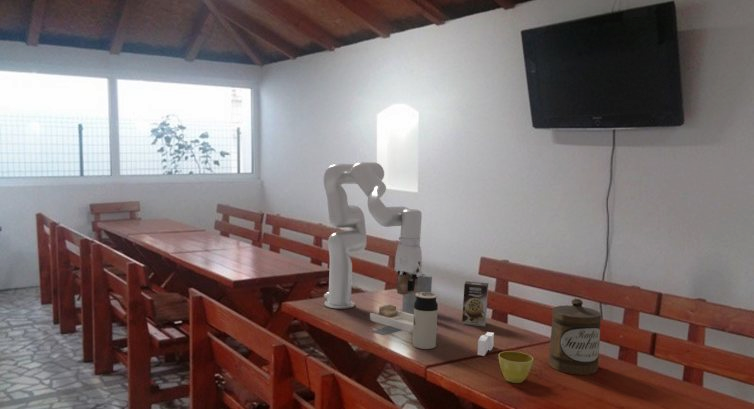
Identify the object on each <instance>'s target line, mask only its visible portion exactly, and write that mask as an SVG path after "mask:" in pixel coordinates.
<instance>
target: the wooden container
mask: <svg viewBox="0 0 754 409" xmlns="http://www.w3.org/2000/svg"><path fill="white" fill-rule="evenodd" d="M583 302H584V301H583V300H581V298H574V299H572V300H571V305H567V304H566V305H557V306H555V307H553V308H552V314H551V315H552V321H551V329H550V330H551V332H550V342H549V355H548V356H549V358H548V364H549V366H550V367H551V368H553V369H554V370H556V371H558V372H562V373H565V374H570V375H578V376H580V375H582V376H583V375H585V376H586V375H592V374H595V373H597V371H598V368H599V355H600V354H599V353H600V339H601V320H602V314H601V312H600V311H598V310H596V309H594V308H591V307H590V308H589V307H586V306H583V304H584V303H583Z"/></svg>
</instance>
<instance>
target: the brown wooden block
mask: <svg viewBox="0 0 754 409" xmlns="http://www.w3.org/2000/svg"><path fill="white" fill-rule="evenodd" d="M397 275H398V276H397V284H396V286H397V290H396V294H399V295H402V296H403V295H405V294H410V293H414V292H417V282H418V278H417V279H416V280H415V287H414V291H408V281H410V280H409V273H407V274H401V275H399V274H397Z"/></svg>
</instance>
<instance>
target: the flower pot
mask: <svg viewBox="0 0 754 409" xmlns="http://www.w3.org/2000/svg"><path fill="white" fill-rule="evenodd" d="M533 362H534V357H533V356H532V355H530V354H528V353H525V352H521V351H512V350H506V351H501V352H499V353H498V363H499V367H500V370H501V372H502V375H503V377H504V379H505V381H507V382H509V383H513V384H521V383H523V382H524V380H526V378H527V376H528V375H529V373H530V372H531V369H532V367H533V366H532V365H533V364H534V363H533Z"/></svg>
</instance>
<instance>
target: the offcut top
mask: <svg viewBox="0 0 754 409" xmlns="http://www.w3.org/2000/svg"><path fill="white" fill-rule="evenodd" d="M378 307H379V308H378V313H380V314H384V315H388V314H392V313H396V310H397V306H396V305H393V304H387V305H386V304H385V305H383V306H378Z"/></svg>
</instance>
